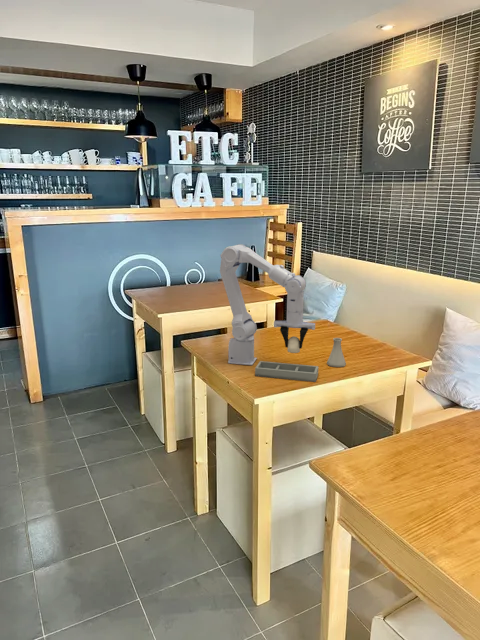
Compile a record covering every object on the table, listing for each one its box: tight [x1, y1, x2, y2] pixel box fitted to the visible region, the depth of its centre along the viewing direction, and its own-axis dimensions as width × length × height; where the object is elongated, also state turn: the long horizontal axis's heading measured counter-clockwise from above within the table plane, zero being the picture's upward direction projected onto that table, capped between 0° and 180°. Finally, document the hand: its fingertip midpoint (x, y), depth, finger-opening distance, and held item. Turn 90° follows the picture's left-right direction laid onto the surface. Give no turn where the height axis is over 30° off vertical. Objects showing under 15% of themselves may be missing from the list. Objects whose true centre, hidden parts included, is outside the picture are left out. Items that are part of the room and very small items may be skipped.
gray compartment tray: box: [254, 360, 319, 383], centre depth 173 cm, size 21×8×3 cm, turn 75°
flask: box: [326, 337, 347, 368], centre depth 183 cm, size 7×7×10 cm
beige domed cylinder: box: [287, 336, 301, 354], centre depth 177 cm, size 4×4×5 cm
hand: (293, 347), depth 177 cm, fingers closed on beige domed cylinder, 4 cm apart
